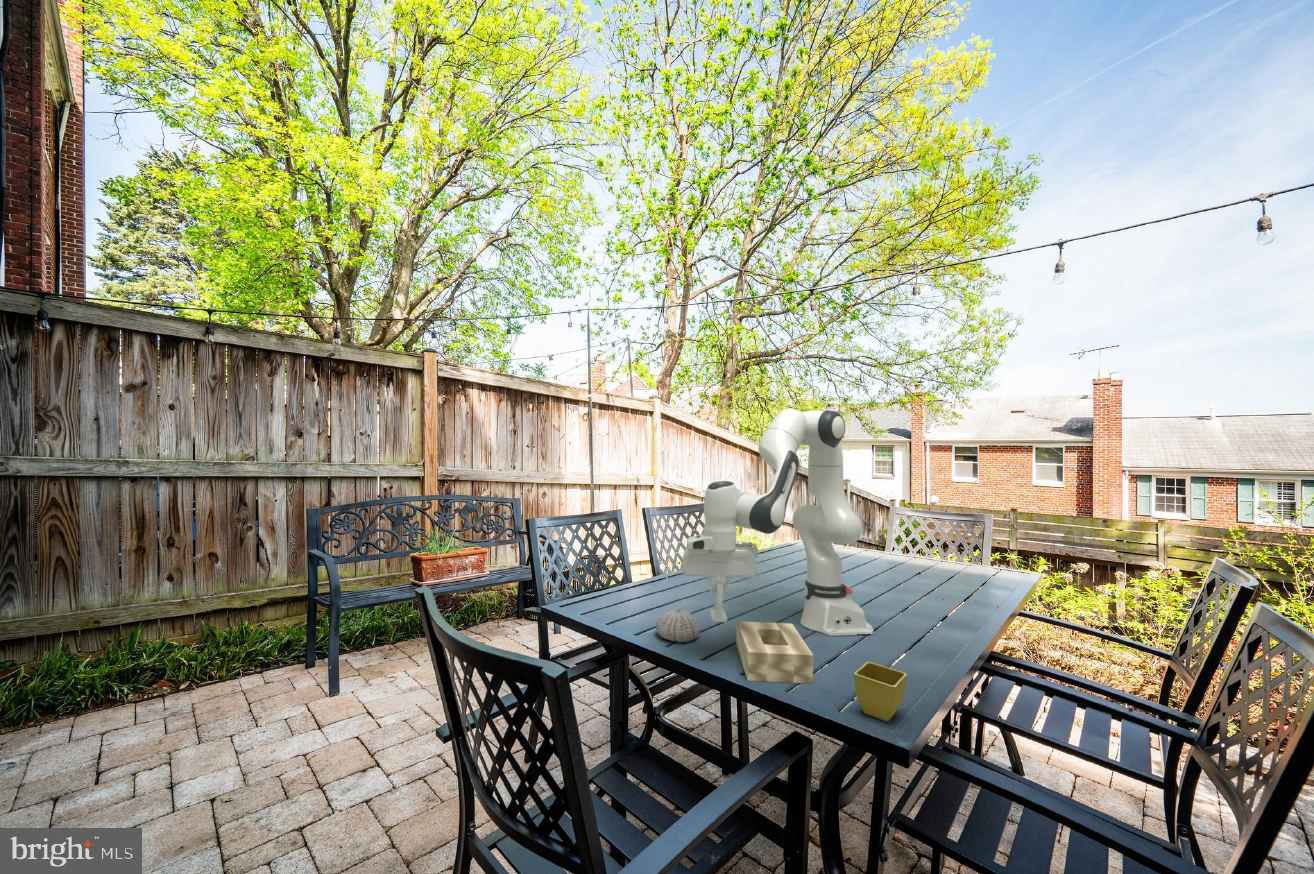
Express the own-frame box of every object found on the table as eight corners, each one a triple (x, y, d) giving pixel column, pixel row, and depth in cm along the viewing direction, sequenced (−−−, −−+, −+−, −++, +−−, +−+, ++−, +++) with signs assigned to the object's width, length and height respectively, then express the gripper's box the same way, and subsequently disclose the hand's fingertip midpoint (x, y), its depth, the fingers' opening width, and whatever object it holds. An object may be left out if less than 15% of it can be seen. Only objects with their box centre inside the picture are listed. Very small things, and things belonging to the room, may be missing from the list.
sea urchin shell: (673, 625, 162) (674, 600, 162) (708, 636, 153) (709, 610, 153) (646, 636, 152) (647, 609, 152) (682, 649, 143) (683, 621, 143)
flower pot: (894, 730, 105) (895, 686, 105) (852, 714, 111) (853, 672, 111) (906, 714, 112) (907, 673, 112) (866, 699, 118) (867, 661, 118)
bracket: (724, 613, 140) (724, 577, 140) (726, 622, 133) (727, 584, 133) (709, 612, 140) (710, 576, 140) (711, 621, 133) (712, 583, 133)
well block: (791, 647, 147) (792, 623, 147) (812, 683, 125) (813, 655, 125) (736, 645, 147) (737, 621, 147) (747, 680, 125) (748, 652, 125)
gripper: (756, 540, 140) (755, 590, 140) (682, 538, 140) (681, 588, 140) (760, 544, 133) (759, 597, 133) (682, 542, 134) (681, 594, 134)
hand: (718, 592), depth 137 cm, fingers closed on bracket
